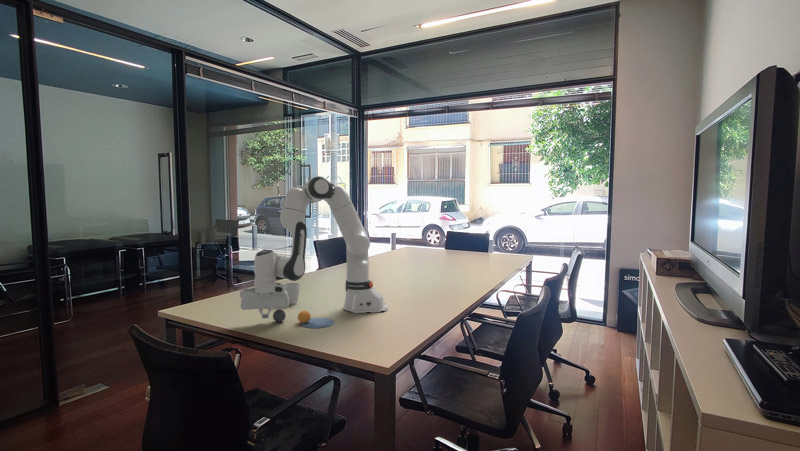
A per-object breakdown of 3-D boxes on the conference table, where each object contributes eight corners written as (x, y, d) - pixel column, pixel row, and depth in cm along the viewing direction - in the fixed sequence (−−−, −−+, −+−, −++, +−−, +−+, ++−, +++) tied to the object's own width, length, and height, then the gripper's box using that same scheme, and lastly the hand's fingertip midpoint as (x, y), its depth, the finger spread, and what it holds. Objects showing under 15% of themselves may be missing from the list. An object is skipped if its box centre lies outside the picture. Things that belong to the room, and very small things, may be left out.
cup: (303, 302, 208) (302, 283, 208) (294, 306, 201) (294, 286, 200) (289, 300, 211) (289, 282, 210) (280, 304, 203) (280, 285, 203)
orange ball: (297, 316, 177) (306, 323, 177) (294, 320, 171) (304, 327, 172) (304, 306, 176) (314, 313, 177) (301, 310, 171) (311, 317, 171)
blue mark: (335, 318, 181) (335, 317, 181) (330, 328, 167) (330, 328, 167) (305, 318, 181) (305, 317, 181) (298, 328, 167) (297, 327, 167)
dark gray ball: (272, 311, 178) (275, 323, 177) (270, 311, 172) (273, 324, 172) (284, 307, 179) (288, 319, 178) (282, 307, 174) (286, 319, 173)
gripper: (238, 290, 167) (239, 321, 168) (288, 287, 172) (288, 318, 173) (240, 286, 173) (241, 317, 174) (289, 284, 178) (289, 314, 179)
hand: (265, 318), depth 174 cm, fingers closed
